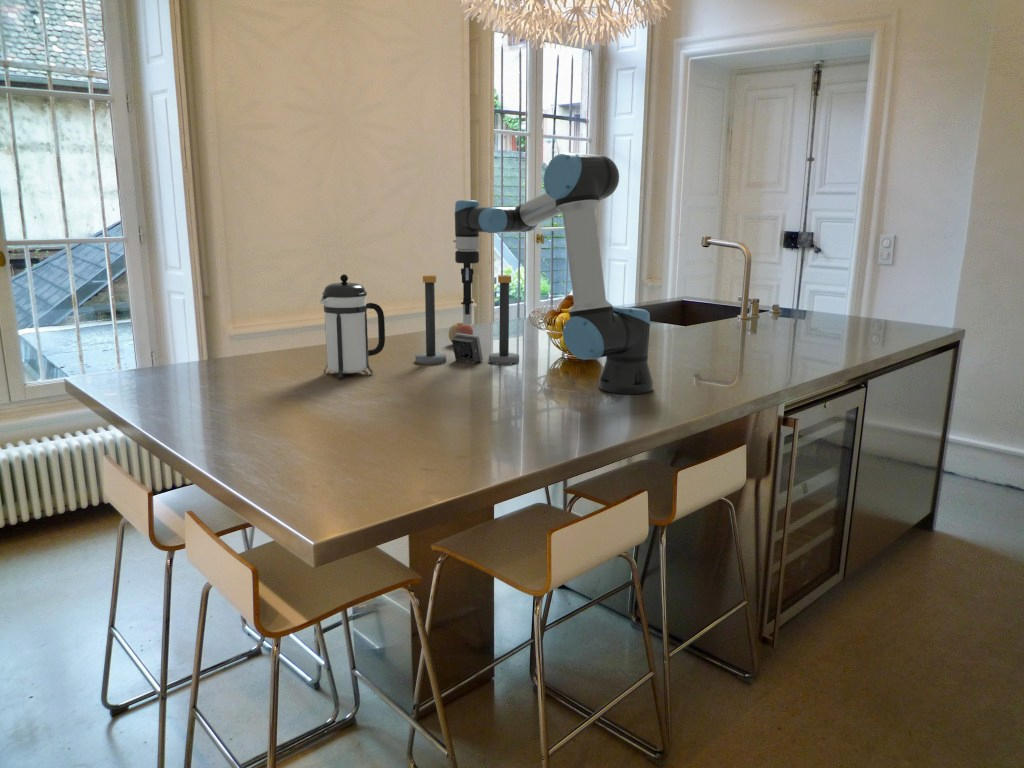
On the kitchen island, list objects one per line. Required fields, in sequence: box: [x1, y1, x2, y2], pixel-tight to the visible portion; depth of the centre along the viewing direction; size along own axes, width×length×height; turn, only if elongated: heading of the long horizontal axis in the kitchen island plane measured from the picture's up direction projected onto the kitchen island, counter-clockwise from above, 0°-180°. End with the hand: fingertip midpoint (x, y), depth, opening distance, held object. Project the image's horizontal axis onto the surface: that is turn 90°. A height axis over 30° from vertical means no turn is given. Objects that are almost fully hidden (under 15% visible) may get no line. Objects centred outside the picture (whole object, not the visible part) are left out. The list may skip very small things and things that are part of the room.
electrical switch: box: [451, 333, 484, 364], centre depth 248 cm, size 9×5×9 cm, turn 57°
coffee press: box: [319, 273, 386, 380], centre depth 227 cm, size 17×16×30 cm
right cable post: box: [488, 274, 520, 365], centre depth 246 cm, size 10×10×28 cm
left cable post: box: [414, 274, 447, 366], centre depth 245 cm, size 10×10×28 cm
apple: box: [448, 322, 474, 343], centre depth 275 cm, size 9×9×8 cm
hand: (467, 323), depth 246 cm, fingers closed
